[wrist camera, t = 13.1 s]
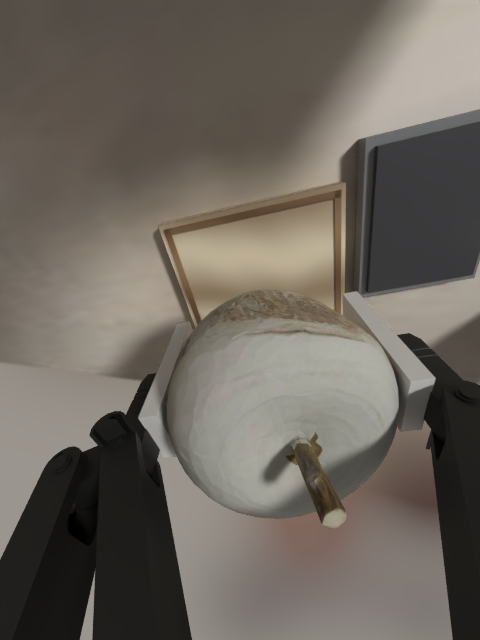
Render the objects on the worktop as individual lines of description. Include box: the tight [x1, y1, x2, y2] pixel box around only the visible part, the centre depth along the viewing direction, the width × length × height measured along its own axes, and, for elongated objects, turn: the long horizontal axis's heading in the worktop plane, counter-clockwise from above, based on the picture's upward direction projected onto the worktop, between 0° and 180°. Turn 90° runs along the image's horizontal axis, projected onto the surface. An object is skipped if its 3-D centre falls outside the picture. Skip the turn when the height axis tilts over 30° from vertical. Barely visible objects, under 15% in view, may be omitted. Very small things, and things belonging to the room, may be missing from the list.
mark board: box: [158, 182, 346, 328], centre depth 19 cm, size 12×12×1 cm
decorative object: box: [166, 290, 399, 529], centre depth 11 cm, size 9×9×10 cm
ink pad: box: [353, 109, 480, 297], centre depth 16 cm, size 10×8×2 cm
